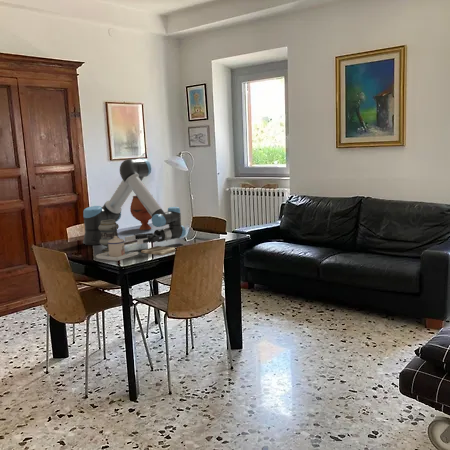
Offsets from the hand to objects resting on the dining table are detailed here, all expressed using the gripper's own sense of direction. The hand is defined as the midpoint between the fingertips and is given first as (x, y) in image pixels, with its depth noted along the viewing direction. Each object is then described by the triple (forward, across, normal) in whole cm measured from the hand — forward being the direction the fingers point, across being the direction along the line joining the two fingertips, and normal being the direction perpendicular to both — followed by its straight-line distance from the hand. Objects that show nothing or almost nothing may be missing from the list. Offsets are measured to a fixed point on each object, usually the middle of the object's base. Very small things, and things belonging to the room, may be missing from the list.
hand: (131, 240), depth 278 cm
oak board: (-13, -10, -7) cm, 17 cm away
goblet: (-50, +66, -7) cm, 82 cm away
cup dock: (+11, +3, -7) cm, 13 cm away
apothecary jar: (+4, +18, -7) cm, 20 cm away
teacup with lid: (+10, 0, -7) cm, 12 cm away
